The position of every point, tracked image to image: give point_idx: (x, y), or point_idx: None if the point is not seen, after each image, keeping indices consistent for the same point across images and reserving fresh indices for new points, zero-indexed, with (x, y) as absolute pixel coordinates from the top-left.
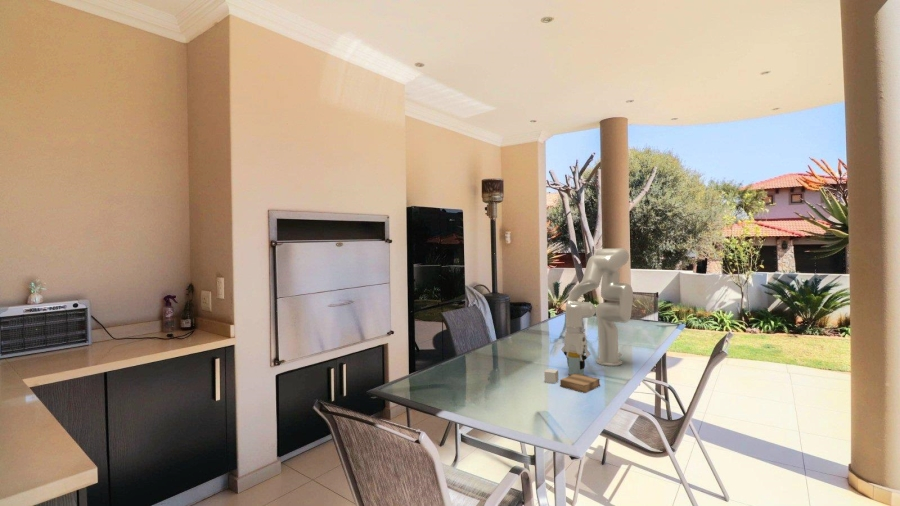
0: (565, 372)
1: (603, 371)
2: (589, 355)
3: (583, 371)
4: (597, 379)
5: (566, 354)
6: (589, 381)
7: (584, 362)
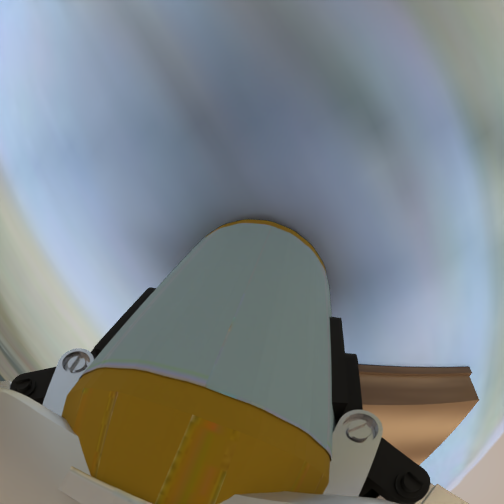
0: (133, 240)
1: (396, 2)
2: (458, 501)
3: (330, 309)
4: (468, 410)
5: None
6: (424, 447)
7: (359, 399)
